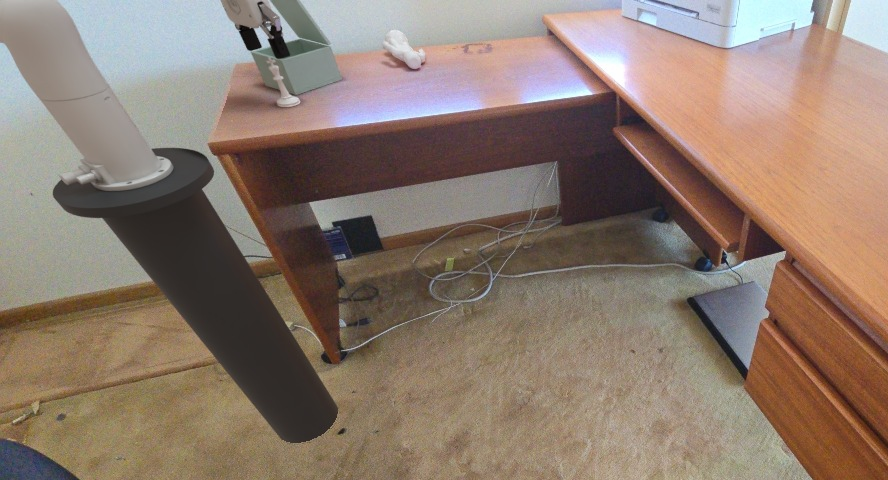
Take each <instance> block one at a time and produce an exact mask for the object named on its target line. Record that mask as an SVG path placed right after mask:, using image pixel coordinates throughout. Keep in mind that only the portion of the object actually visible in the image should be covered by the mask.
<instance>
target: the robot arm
mask: <svg viewBox="0 0 888 480" xmlns="http://www.w3.org/2000/svg"><path fill="white" fill-rule="evenodd" d="M220 2H221V5H222V7H223V9H224V11H225V14H226V16H227V18H228V19H229V20H230V21H231V22H232V23H233V24H234V28H235V29H236V30H237V31H238V33H239V35H240V38H241V40H242V42H243V43H244V46H245V48H246V50H247V51H249V52H251V51H255V50H259V49H263V48H262V47H263V45H262V43H261V41H260V39H259V36H258V34H257V33H256V30H255V29H259V28H260V29H261V30H262V31H263V33H265V35H266V36H267V37H268V38H267V42H268V44H269V47H271V49H272V51H273V53H274V55H275V57H276V58H277V59H281V58H285V57H288V56H290V53H289V50H288V48H287V46H286V41H285V38H284V33H283V27H282V23H281V17H280V16H279V15H278V14H277V13H276V12H275V11H273V9H272V6H271V4H270V1H269V0H220ZM269 27H270V28H269ZM0 44H4V45H5V47H6V48H7V50H8V51H9V53H10V55H11V57H12V59H13V61H14V64H15V65H16V68H17V69H18V71H19V73H20V75H21V76H22V78H23V79H24V81H25V82H26V84H27V85H28V87H29V88H30V89H31V91H32V92H33V93H34V94H35V95H36V97H37V98H38V99H39V101H40V102H41V104H43V106H44V107H45V108H46V110H47V111H48V112H49V114H50V115H51V116H52V117H53V119H54V120H55V121H56V123H57V124H58V125H59V127H60V128H61V129H62V131H63V132H64V134H65V135H66V136H67V137H68V138H69V140H70V141H71V142H72V144H73V145H74V146H75V148H76V149H77V150H78V152H79V153H80V154H81V155H82V156H83V158H80V159H79V162H81V165H78V166H77V168H76V169H74V170H69V171H66V172H64V173H60V174H58V177H59V178H60V180H61V179H62V181H63V182H64V183H66V184H67V185H70V184H73V183H75V182H79V183H80V184H82V185H83V184H85V183H88V182H91V183H92V185H93V186H94V187H95V188H97V189H99V190H104V191H126V190H132V189H137V188H141V187H145V186H148V185H151V184H154V183H156V182H158V181H160V180H162V179H164V178H166V177H167V176H168V175H170V174H171V172H172V171H173V168H174V167H173V165H172V163H171V162H170V160H168V159H167V158H164V157H160V156H156V155H155V154H154V152H153V151H152V149H153V148H151V146H150V145H149V143H148V142H147V140H146V139H145V137H144V135H143V134H142V133H141V131H140V130H139V128H138V126H137V125H136V123H135V122H134V121H133V119H132V118H131V116H130V115H129V113H128V111H127V110H126V108H125V107H124V105H123V104H122V103H121V100H119V99H120V98H118V96H117V95H116V93H115V92H114V89H112V87H111V85H110V84H109V83H108V81H107V79H106V77H105V76H103V74H102V72H101V70H100V69H99V67H98V65H97V64H96V63H95V61H94V59H93V58H92V55H91V54H90V52H89V50H88V49H87V47H86V45H85V42H84V40H83V38H82V36H81V33H80V31H79V29H78V27H77V25H76V22H75V21H74V19H73V18H72V16H71V15H70V13H69V12H68V10H67V9H66V8H65V7H64V6H63V5H62V4H61V3H60V2H59V0H0Z"/></svg>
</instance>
